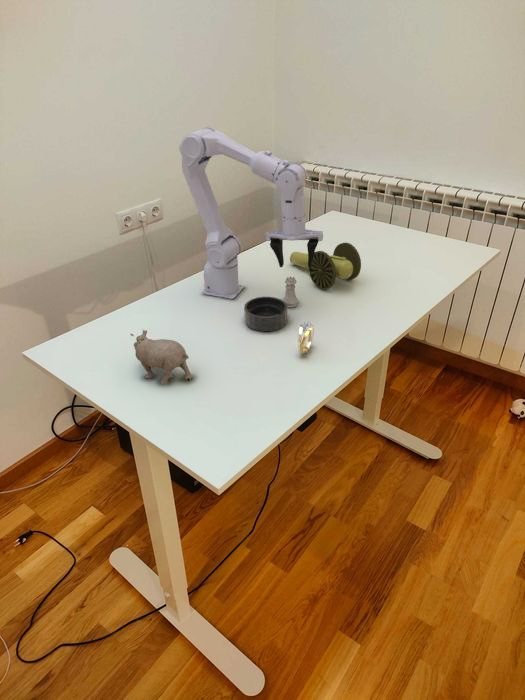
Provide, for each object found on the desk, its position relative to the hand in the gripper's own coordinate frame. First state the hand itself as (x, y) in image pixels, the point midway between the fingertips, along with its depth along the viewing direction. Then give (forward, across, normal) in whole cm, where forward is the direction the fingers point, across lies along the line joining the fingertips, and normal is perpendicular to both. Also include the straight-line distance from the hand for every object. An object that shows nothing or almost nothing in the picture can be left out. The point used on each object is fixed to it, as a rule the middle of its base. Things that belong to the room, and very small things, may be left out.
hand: (295, 266), depth 133 cm
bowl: (+12, -7, -10) cm, 17 cm away
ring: (+13, +6, -22) cm, 26 cm away
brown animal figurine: (+11, -26, -37) cm, 46 cm away
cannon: (+12, +4, +20) cm, 23 cm away
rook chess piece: (+12, -2, 0) cm, 12 cm away
